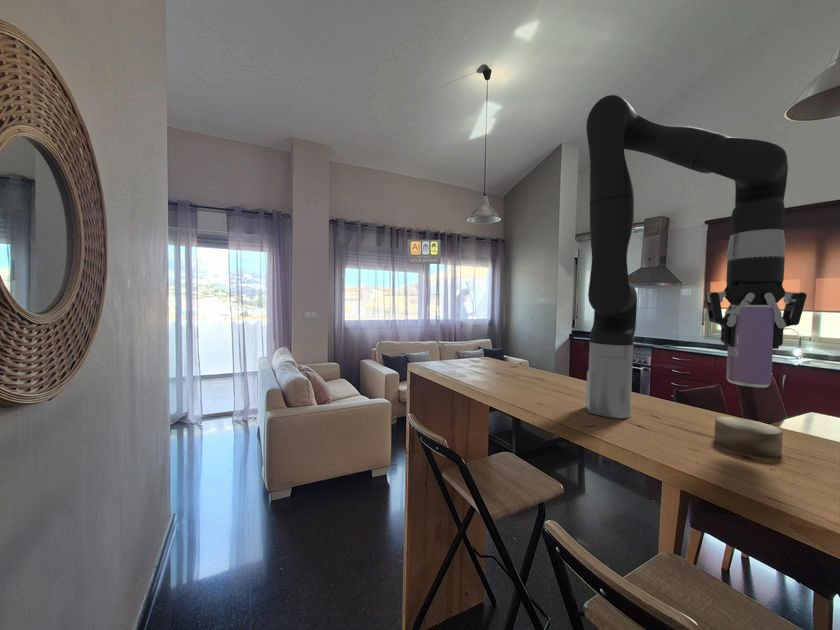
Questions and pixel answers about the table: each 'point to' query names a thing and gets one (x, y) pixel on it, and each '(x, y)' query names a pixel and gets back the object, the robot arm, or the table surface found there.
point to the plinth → (748, 436)
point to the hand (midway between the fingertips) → (750, 346)
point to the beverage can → (752, 347)
